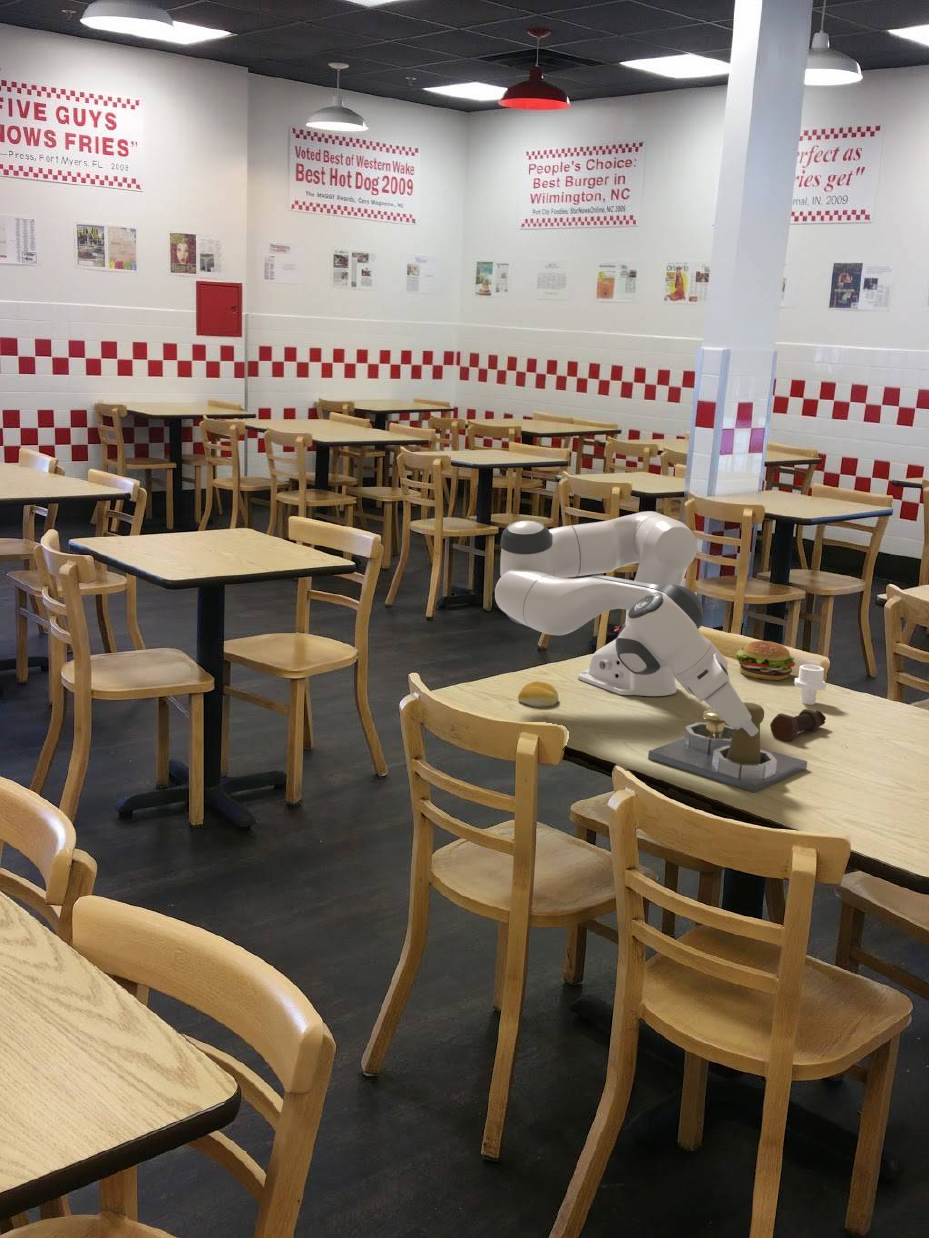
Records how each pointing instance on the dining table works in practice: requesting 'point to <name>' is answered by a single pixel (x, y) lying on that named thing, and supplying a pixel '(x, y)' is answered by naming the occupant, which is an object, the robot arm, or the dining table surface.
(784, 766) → the bolt plate
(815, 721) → the bolt
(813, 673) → the pipe fitting
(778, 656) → the food
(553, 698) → the bread roll
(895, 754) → the dining table surface
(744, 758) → the cork
